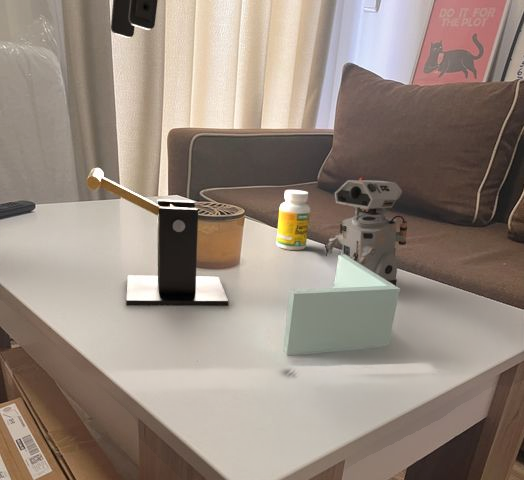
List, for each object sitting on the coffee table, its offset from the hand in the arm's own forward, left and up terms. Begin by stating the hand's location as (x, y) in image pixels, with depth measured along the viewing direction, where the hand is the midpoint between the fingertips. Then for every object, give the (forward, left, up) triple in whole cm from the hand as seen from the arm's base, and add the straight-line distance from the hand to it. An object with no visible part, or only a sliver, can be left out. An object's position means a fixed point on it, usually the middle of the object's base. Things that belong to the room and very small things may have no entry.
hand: (130, 31), depth 50 cm
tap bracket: (+5, +4, -29) cm, 29 cm away
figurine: (+32, +11, -29) cm, 44 cm away
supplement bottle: (+27, +30, -29) cm, 49 cm away
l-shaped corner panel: (+20, -7, -29) cm, 36 cm away
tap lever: (0, +4, -18) cm, 18 cm away
